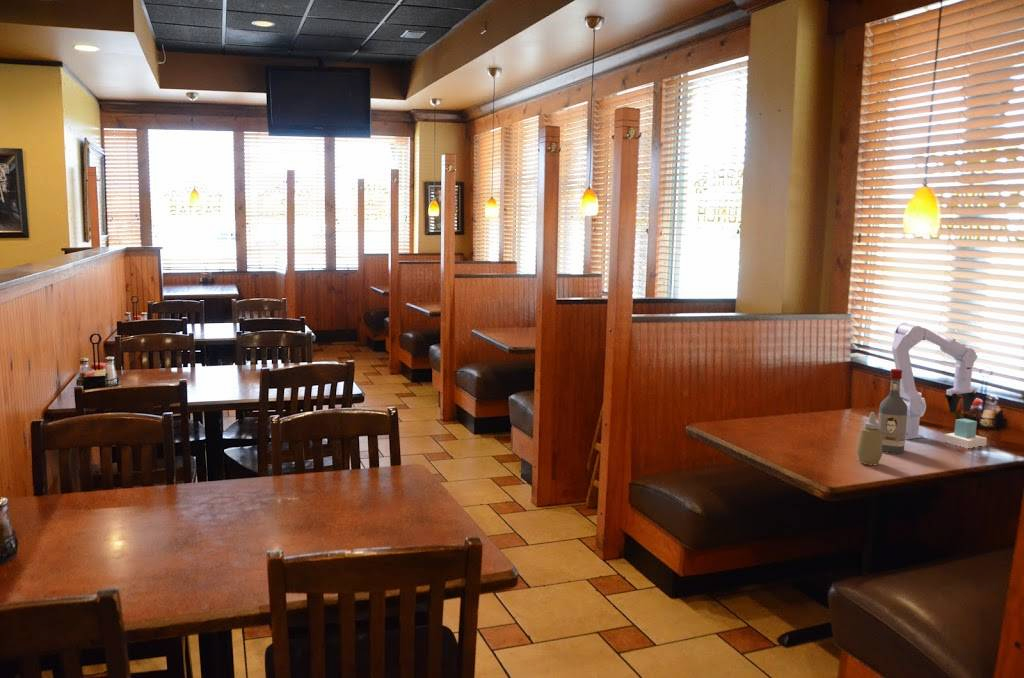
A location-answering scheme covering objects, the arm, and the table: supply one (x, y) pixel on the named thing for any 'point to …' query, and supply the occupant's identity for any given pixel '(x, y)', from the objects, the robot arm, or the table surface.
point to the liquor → (893, 417)
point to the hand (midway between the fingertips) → (959, 411)
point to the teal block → (965, 428)
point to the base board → (965, 441)
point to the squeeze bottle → (870, 442)
